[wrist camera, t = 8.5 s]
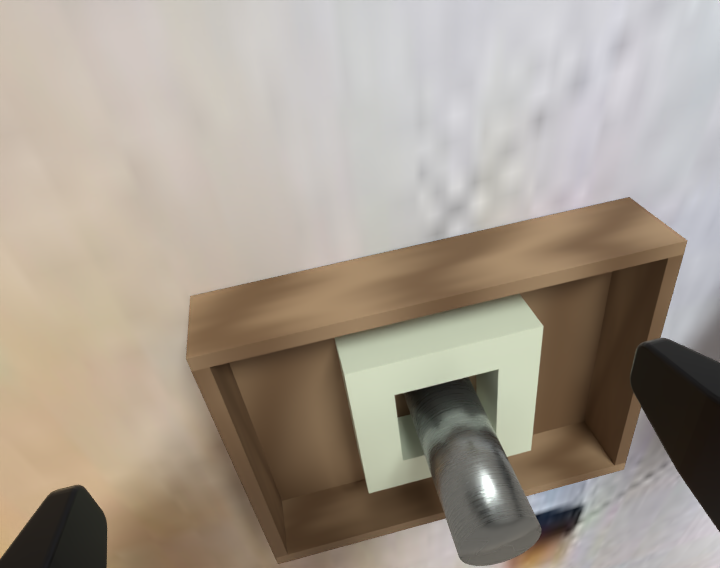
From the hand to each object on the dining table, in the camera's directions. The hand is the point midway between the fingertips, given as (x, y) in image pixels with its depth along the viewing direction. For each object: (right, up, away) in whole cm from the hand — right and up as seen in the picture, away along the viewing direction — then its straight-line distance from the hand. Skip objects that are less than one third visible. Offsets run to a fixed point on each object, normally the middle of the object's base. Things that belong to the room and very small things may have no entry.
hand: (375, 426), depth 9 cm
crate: (+3, -2, +17) cm, 17 cm away
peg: (+3, -2, +17) cm, 17 cm away
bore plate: (+3, -2, +17) cm, 17 cm away
